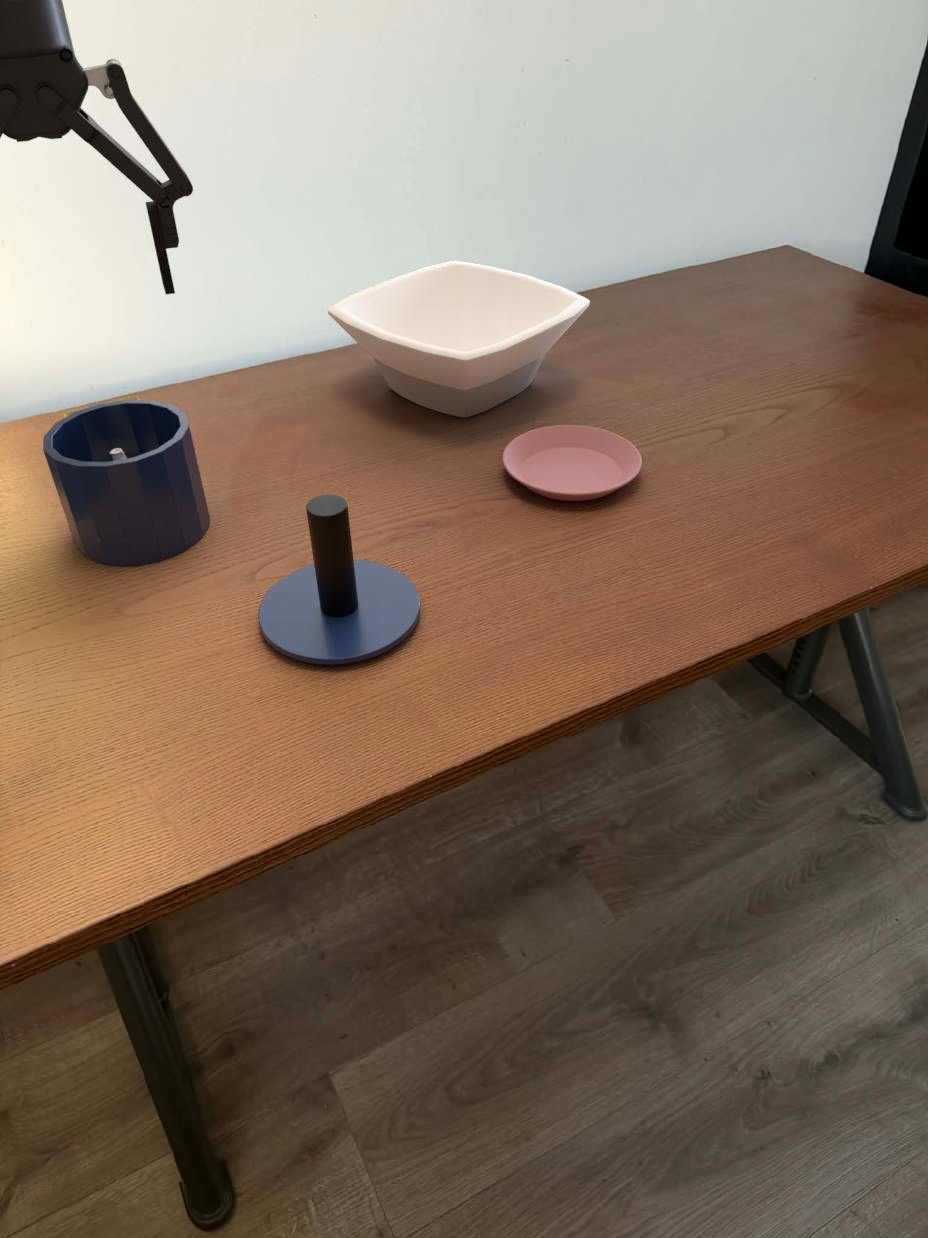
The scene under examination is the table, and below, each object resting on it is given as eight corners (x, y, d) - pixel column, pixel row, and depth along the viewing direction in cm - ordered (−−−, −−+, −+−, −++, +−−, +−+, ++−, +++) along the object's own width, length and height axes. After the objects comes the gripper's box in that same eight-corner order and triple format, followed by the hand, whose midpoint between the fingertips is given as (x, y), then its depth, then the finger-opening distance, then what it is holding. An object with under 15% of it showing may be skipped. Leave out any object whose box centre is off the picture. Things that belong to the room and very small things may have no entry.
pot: (77, 577, 85) (42, 477, 78) (75, 507, 94) (43, 412, 87) (217, 550, 88) (195, 451, 81) (201, 485, 97) (180, 390, 90)
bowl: (317, 392, 113) (307, 309, 107) (457, 330, 128) (455, 253, 121) (465, 456, 101) (464, 366, 94) (602, 379, 115) (608, 296, 108)
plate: (612, 524, 90) (614, 506, 89) (479, 491, 95) (479, 474, 94) (657, 457, 100) (660, 440, 99) (534, 430, 105) (535, 414, 104)
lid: (275, 687, 73) (252, 571, 66) (248, 588, 83) (226, 478, 76) (441, 648, 76) (436, 534, 69) (396, 557, 86) (388, 449, 79)
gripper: (182, -28, 69) (230, 266, 82) (-199, -13, 62) (-80, 303, 76) (194, -20, 63) (244, 294, 76) (-223, -2, 57) (-90, 337, 70)
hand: (83, 299), depth 76 cm, fingers open, 13 cm apart
